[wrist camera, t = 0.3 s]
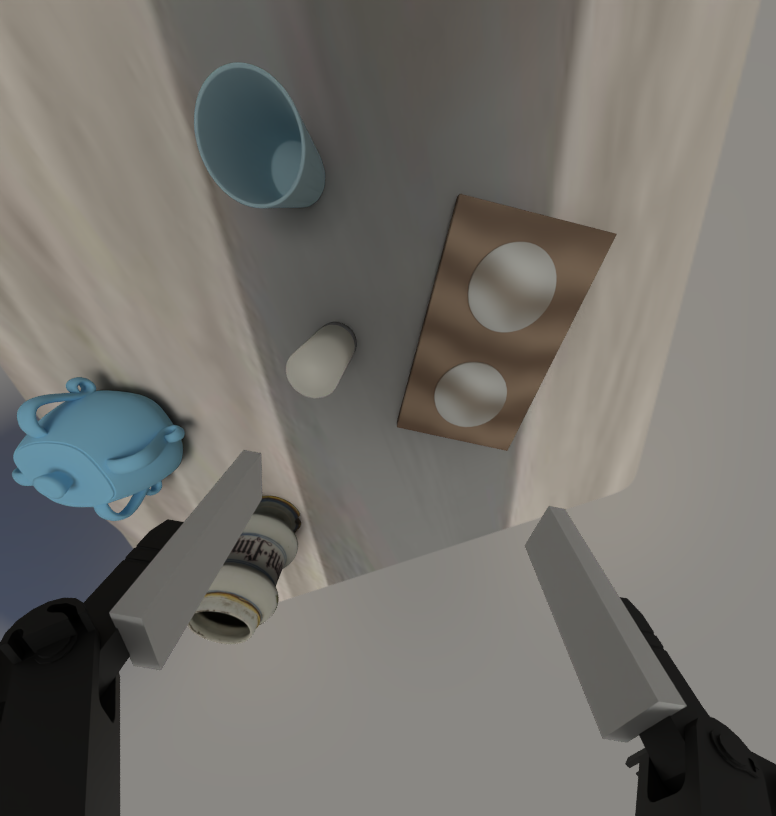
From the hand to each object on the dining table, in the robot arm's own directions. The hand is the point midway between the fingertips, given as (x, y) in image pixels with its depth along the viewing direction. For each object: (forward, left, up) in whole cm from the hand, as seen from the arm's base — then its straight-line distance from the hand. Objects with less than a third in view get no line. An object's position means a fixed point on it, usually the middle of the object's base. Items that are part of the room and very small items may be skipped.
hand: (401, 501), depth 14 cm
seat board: (-2, +10, -27) cm, 28 cm away
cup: (-14, -14, -27) cm, 33 cm away
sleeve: (+2, -8, -27) cm, 28 cm away
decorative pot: (+22, -36, -27) cm, 50 cm away
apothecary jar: (+36, -15, -27) cm, 47 cm away
